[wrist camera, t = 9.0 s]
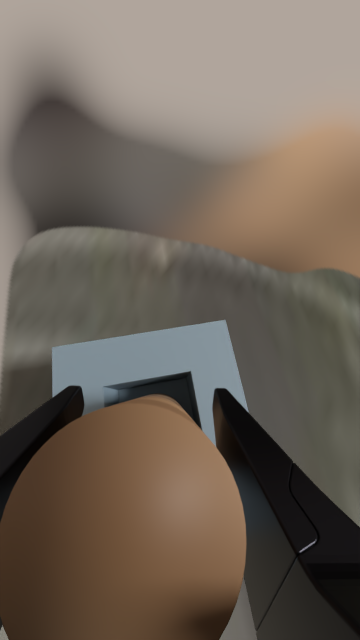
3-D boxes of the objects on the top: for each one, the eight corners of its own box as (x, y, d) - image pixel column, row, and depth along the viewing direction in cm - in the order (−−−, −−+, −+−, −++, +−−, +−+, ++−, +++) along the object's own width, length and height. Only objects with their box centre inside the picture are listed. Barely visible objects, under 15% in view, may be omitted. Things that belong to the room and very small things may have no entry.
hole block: (244, 485, 16) (275, 520, 11) (90, 520, 15) (54, 574, 10) (211, 340, 19) (225, 319, 14) (82, 361, 18) (51, 347, 13)
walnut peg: (163, 463, 15) (148, 790, 3) (118, 428, 16) (-64, 578, 3) (194, 414, 16) (288, 495, 4) (152, 382, 17) (108, 361, 4)
